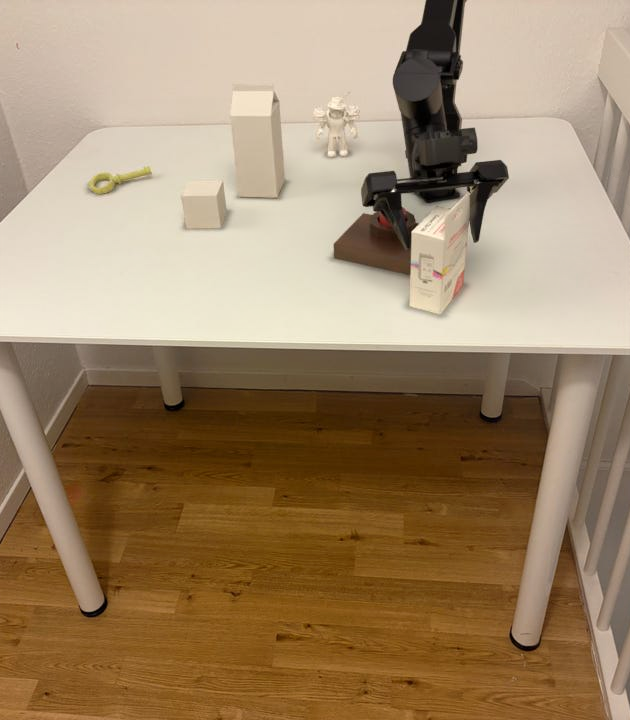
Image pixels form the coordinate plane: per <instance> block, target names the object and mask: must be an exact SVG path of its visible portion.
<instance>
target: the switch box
mask: <svg viewBox="0 0 630 720" xmlns="http://www.w3.org/2000/svg"><path fill="white" fill-rule="evenodd" d="M379 215H380V212H373V214H370V213H365V212H363V213H362V214H361V215H360V216H359V217H358V218H357V219H356V220H355V221H354V222H353V223H352V224H351V225H350V226H349V227H348V228H347V229H346V230H345V231H344V232H343V233H342V234H341V235H340V236H339V238H338V239H336V241H334V242H333V259H335V260H338V261H343V262H347V263H352V264H357V265H362V266H366V267H371V268H375V269H380V270H385V271H389V272H394V273H397V274H402V275H403V274H404V275H408V276H410V274H411V238H412V234H411V232H412V231H413V230H414V229H415V228H416V227H417V226H418V225H419V224H420V222H417V220H416V217H415V215H414V214H413V213H412V212H410V211H408V210H406V221H405V222H406V226H407V230H408V235H409V242H410V249H409V250H405V248H404V246H403V245H402V243H401V241H400V240H399V238H398V236H397V235H396V233H395V231H394V230H393V228H392V227H391V226H386V225H382V224H381V223H380V222H379Z"/></svg>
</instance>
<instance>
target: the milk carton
mask: <svg viewBox="0 0 630 720" xmlns="http://www.w3.org/2000/svg"><path fill="white" fill-rule="evenodd" d="M274 86H275V85H274V84H271V83H268V84H267V83H266V84H265V83H260V84H259V83H258V84H255V83H251V84H250V83H248V84H245V83H244V84H243V83H241V84H239V83H237V84H235V83H234V84H232V97H231V104H230V110H229V120H230V128H231V130H230V131H231V137H232V145H233V154H234V164H235V172H236V173H235V174H236V180H237V181H236V182H237V189H238V196H239V197H240V198H266V199H267V198H269V199H278V196H279V195H280V192H281V191H282V188H283V186H284V184H285V181H286V175H285V161H284V145H283V133H282V119H281V118H282V117H281V106H280V105H281V104H280V100H279V98H278V96H277V94H276V92H275V88H274Z"/></svg>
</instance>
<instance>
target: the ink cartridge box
mask: <svg viewBox="0 0 630 720" xmlns="http://www.w3.org/2000/svg"><path fill="white" fill-rule="evenodd" d="M469 218H470V193H469V192H468V191H466V193H465V194H464V195H463V197H462V198H460V199H459V201H457V203H456V204H454V206H453V207H452V208H451V207H448V206H447V207H446V206H441V205H436V206H435V207H434V208H433V209H432V210H431V211H430V212H429V213H428V214H427V215H426V217H424V218H423V219H422V220H421V221H420V222H419V225H418V226H417V227H416V228H415V229H414V230H413V231H412V232H411V234H412V238H411V274H410V275H409V307H411V308H414V309H418V310H422V311H427V312H431V313H434V314H438V315H441V314H442V313H443V312H444V311H445V309H446V308H447V307H448V305H449V304H450V303H451V301H452V300H453V298H454V297H455V296H456V295H457V294H458V293H459V291H460V290H461V288H462V286H464V277H465V269H466V258H467V249H468V237H469V229H470V228H469V227H470V221H469Z"/></svg>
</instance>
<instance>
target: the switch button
mask: <svg viewBox="0 0 630 720" xmlns="http://www.w3.org/2000/svg"><path fill="white" fill-rule="evenodd" d="M402 209H403V213H404V218H405V221H406V211H407V210H406V208H405V207H403V206H402ZM379 222H380V223H381V224H382V225H386V226H391V225H390V224H389V223H388V221H387V220H386V219H385V217H384V216H383V215H382V214H381V212H380V215H379Z"/></svg>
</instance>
